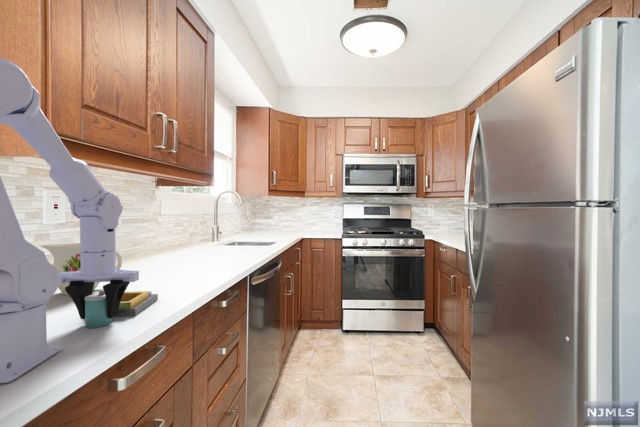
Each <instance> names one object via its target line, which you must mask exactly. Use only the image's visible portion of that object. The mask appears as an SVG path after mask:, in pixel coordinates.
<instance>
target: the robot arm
mask: <svg viewBox="0 0 640 427" xmlns="http://www.w3.org/2000/svg"><path fill="white" fill-rule="evenodd" d="M40 97H41V94H40V92H39V91H38V90H37V89H36V88H35V86H33V85H32V82H31V80H30V78H29V77H28V75H27V74H26V73H25V71H24V70H23V69H22V68H21V67H20V66H18V65H17V64H16V63H14V62H13V61H11V60H9V59H7V58H3V57H0V124H2V125H5V126H8V127H11V128H12V129H13V130H14V131H15V132H16V133H17V134H18V135H19V136H20V137H21V138H22V139H23V140H24V141H25V142H26V143H27V144H28V145H29V146H30V147H31V148H32V149H33V150H34V151H35V152H36V153H37V154H38V155H39V156H40V157H41V159H43V160H44V161H45V162H46V163H47V164H48V165H49V166H50V167H49V168H50V169H49V173H48V176H49V178H50V179H51V180H52V181H53V182H54V183H55V185H56V186H57V187H58V188H59V189H60V190H61V191H62V192H63V194H65V196H66V197H67V199H68V202H69V204H70V210H71V214H72V216H75V217H76V218H77V219H79V241H80V242H79V243H80V262H81V271H74V272H62V273H58V270H57V269H56V268H55V266H53V264H52V263H51V262H49V260H48V258H47V256H46V254H45V252H44V251H43V250H42V249H40V248H39V247H37V246H35V245H34V244H32V243H30V242H29V241H28V240H27V239H26V238H25V235H24V233H23V231H22V228H21V226H20V222H19V221H18V218H17V215H16V214H15V210H14V208H13V205H12V202H11V200H10V197H9V195H8V192H7V190H6V188H5V185H4V182H3V179H2V177H1V176H0V384H7V383H11V382H12V381H14V380H16V379H17V378H19V377H21V376H23V375H24V374H25V373H27V372H28V371H30V370H32V369H33V368H34V367H36V366H38V365H39V364H41V363H43V362H44V361H46V360H48V359H49V358H51V357H52V356H54V355H55V354H57V353H58V352H60V351H62V346H48V344H47V343H48V342H47V338H48V336H47V304H48V303H49V302H51V298H52V297H53V296H54V295H55V293H56V292H57V289H59V288H58V285H59V284H61V283H68V282H70V284H69V286H67V287H65V291H66V292H67V293H68V294H69V295H68V296H69V297H70V298H71V299H72V301H73V303H74V305H75V307H76V310H77V312H78V314H79V318H80V320H85V297H86V296H88V295H92V294H93V292H94V291H93V287H94V283H95V282H100V283H102V282H103V283H104V282H105V283H106V282H108V283H107V284H104V285H102V290H104V292H105V296H106V301H107V317H108V318H114V317H117V316H116V315H117V313H118V308H119V305H120V301H121V299H122V296H123V294H124V292H126V290H127V288H128V287H129V285H130V283H135V282H137V281H138V280H139V279H140V271H139V270H131V269H130V270H129V269H127V270H126V269H120V270H116V266H117V258H116V251H117V250H116V247H117V246H116V242H117V240H116V239H117V238H116V229H117V228H118V226H119V219H120V217H121V215H122V213H123V205H122V203H121V200H120V198H119V197H118V196H117V195H115V194H114V193H113V192H109V191H108V190H106V188H105V187H104V186H103V184H102V183H101V182H100V180H99V179H98V178H97V177H96V175H95V174H94V172H93V171H92V170H91V167H90V165H89V164H88V163H87V162H85V161H84V160H82V159H77V158H74V157H73V156H72V155H71V153H70V152H69V150H68V149H67V147H66V146H65V144H64V143H63V141H62V140H61V138H60V136H59V135H58V133H57V132H56V131H55V129H54V127H53V126H52V124H51V123H50V122H49V120H48V118H47V117H46V115H45V113H44V112H43V110H42V109H41V107H40V104H41V103H40V102H41V100H40V99H41V98H40ZM106 278H107V279H106Z"/></svg>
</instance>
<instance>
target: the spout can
mask: <svg viewBox="0 0 640 427" xmlns="http://www.w3.org/2000/svg"><path fill="white" fill-rule="evenodd" d="M113 318H114V317H113ZM113 318H108V317H107V301H106V296H105V292H104V289H99V290H98V292H97V293H92V295H88V296H86V297H85V319H84V321H85V322H84V328H86V329H99V328H104V327H107V326H109V325H111V324H113V321H114V319H113Z"/></svg>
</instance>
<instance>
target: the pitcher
mask: <svg viewBox="0 0 640 427" xmlns="http://www.w3.org/2000/svg"><path fill="white" fill-rule="evenodd" d="M40 247H41V248H42V249H45V250H48V252H49V253H50V254H51V255H52V257H53V264H52V265H53V266H55V268H56V269H57V270H58V273H62V272H74V271H81V262H80V242H76V243H55V244H51V243H50V244H41V245H39V248H40ZM122 259H123V258H122V256H121V254H120V252H118V250H116V270H121V268H122V264H123V260H122ZM106 279H107V278H106ZM100 283H101V282H95V283H94V287H93V292H94V291H95V290H96V289H97V287H98V286H99V284H100ZM69 284H70V282H68V283H61V284H59V285H58V288H57V289H59V291H60V292H62V294H63V295H65V296H69V294H68V293H67V292H66V291H65V287H67V286H69Z"/></svg>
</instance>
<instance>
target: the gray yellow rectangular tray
mask: <svg viewBox="0 0 640 427" xmlns="http://www.w3.org/2000/svg"><path fill="white" fill-rule="evenodd" d="M158 296H159V295H158V293H152V291H151V290H149V291H148V290H144V291H141V290H140V291H125V292H124V294H123V296H122V299H121V301H120V305H119V308H118V313H117V315H116V316H115V317H133V316H137V315H139V314H140V313H141V312H143V311H144V310H146V309H147V308H148V307H150V306H151V305H153V304H154V303H156V302H157V301H158V300H159V298H158Z"/></svg>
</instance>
